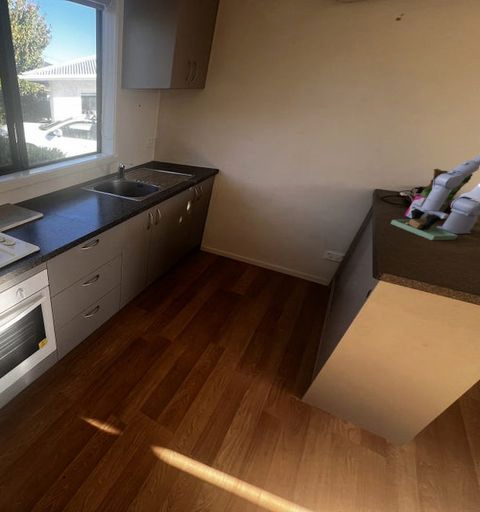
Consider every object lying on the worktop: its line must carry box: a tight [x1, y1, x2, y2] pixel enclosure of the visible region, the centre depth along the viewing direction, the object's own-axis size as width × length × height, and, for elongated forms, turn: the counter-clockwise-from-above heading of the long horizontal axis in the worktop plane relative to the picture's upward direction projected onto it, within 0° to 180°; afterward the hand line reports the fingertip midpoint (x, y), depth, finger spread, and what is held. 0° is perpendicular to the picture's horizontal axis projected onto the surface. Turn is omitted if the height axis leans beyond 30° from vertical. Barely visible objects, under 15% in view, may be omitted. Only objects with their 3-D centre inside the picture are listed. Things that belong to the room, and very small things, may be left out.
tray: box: [390, 219, 459, 241], centre depth 140 cm, size 12×19×2 cm, turn 6°
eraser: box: [407, 217, 436, 230], centre depth 140 cm, size 8×4×4 cm, turn 95°
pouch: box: [419, 168, 474, 219], centre depth 153 cm, size 11×12×25 cm
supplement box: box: [404, 195, 428, 220], centre depth 153 cm, size 6×6×12 cm
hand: (418, 227), depth 141 cm, fingers closed on eraser, 5 cm apart
